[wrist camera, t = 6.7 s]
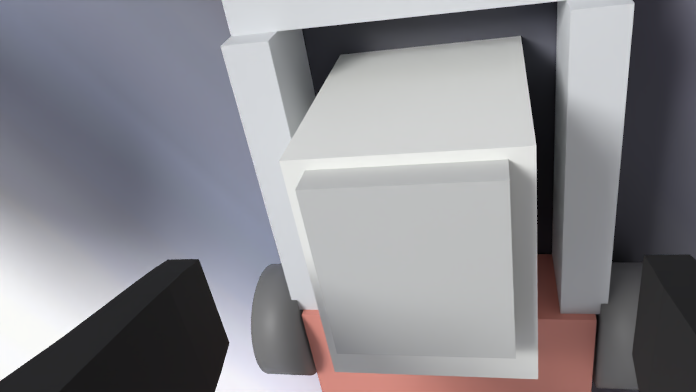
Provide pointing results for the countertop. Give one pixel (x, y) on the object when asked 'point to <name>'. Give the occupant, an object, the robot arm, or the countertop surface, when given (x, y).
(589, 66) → the toy car
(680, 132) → the countertop surface
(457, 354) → the white drawer box
